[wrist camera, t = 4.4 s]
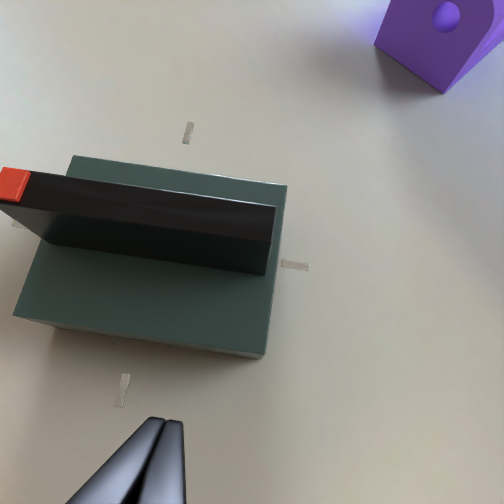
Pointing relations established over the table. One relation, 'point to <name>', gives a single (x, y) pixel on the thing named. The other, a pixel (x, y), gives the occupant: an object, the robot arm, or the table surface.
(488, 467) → the table surface
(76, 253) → the dark green flat block
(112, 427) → the table surface
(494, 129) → the table surface
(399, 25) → the bracket
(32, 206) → the black bar
